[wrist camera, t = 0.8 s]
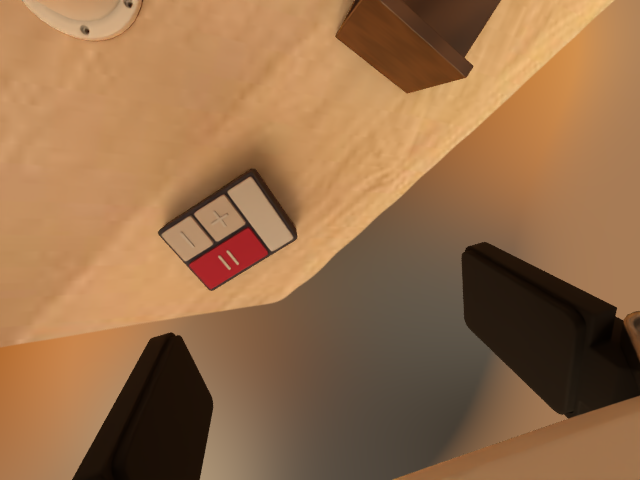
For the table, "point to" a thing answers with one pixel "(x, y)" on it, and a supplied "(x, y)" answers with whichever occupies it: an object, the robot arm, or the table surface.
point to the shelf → (416, 38)
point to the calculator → (230, 230)
